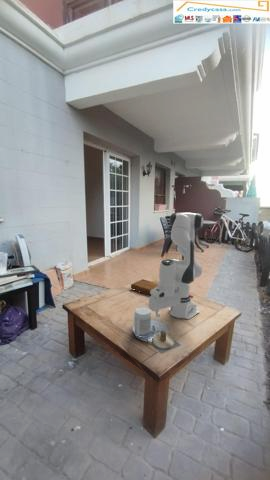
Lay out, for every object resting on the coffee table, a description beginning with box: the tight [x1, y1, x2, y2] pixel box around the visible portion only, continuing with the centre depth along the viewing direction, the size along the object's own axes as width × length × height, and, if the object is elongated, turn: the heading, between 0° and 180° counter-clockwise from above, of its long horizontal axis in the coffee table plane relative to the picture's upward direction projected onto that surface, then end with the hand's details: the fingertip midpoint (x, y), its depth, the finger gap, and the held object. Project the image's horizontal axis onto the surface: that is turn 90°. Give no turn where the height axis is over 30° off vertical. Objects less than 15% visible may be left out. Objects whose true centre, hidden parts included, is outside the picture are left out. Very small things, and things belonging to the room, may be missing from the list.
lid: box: [152, 330, 175, 349], centre depth 120 cm, size 12×12×6 cm
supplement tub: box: [133, 307, 152, 338], centre depth 128 cm, size 10×10×15 cm
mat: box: [147, 339, 181, 354], centre depth 121 cm, size 14×14×1 cm
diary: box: [130, 279, 159, 296], centre depth 197 cm, size 23×19×6 cm
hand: (164, 314), depth 118 cm, fingers open, 8 cm apart
